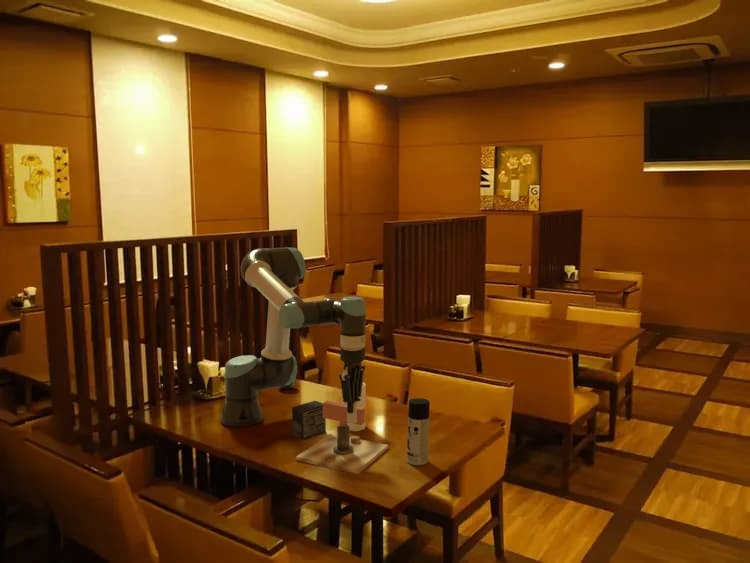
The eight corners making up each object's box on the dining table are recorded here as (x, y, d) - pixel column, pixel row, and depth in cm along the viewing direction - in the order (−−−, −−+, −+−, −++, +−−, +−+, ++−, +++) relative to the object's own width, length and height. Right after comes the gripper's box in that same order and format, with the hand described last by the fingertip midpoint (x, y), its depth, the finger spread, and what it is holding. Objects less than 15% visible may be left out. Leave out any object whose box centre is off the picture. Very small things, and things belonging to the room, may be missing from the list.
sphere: (273, 390, 272) (273, 372, 271) (279, 384, 280) (279, 367, 278) (292, 391, 270) (291, 373, 269) (297, 386, 278) (297, 368, 277)
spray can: (405, 457, 205) (406, 397, 202) (426, 457, 206) (427, 397, 203) (408, 466, 199) (409, 404, 196) (429, 465, 199) (431, 404, 196)
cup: (362, 432, 226) (363, 388, 224) (340, 430, 228) (340, 386, 226) (367, 424, 234) (367, 381, 232) (345, 422, 236) (346, 380, 234)
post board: (296, 460, 202) (296, 432, 201) (330, 436, 222) (330, 411, 220) (358, 474, 193) (358, 445, 191) (388, 448, 212) (388, 421, 211)
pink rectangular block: (322, 423, 207) (322, 403, 206) (326, 421, 210) (326, 400, 209) (361, 431, 202) (361, 409, 201) (364, 428, 204) (365, 407, 203)
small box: (314, 427, 230) (315, 399, 229) (326, 432, 225) (326, 404, 224) (291, 435, 223) (291, 406, 221) (302, 440, 218) (302, 410, 217)
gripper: (353, 353, 187) (352, 430, 190) (373, 344, 198) (372, 417, 202) (331, 350, 190) (331, 426, 193) (351, 341, 202) (351, 413, 205)
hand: (351, 421), depth 197 cm, fingers closed
